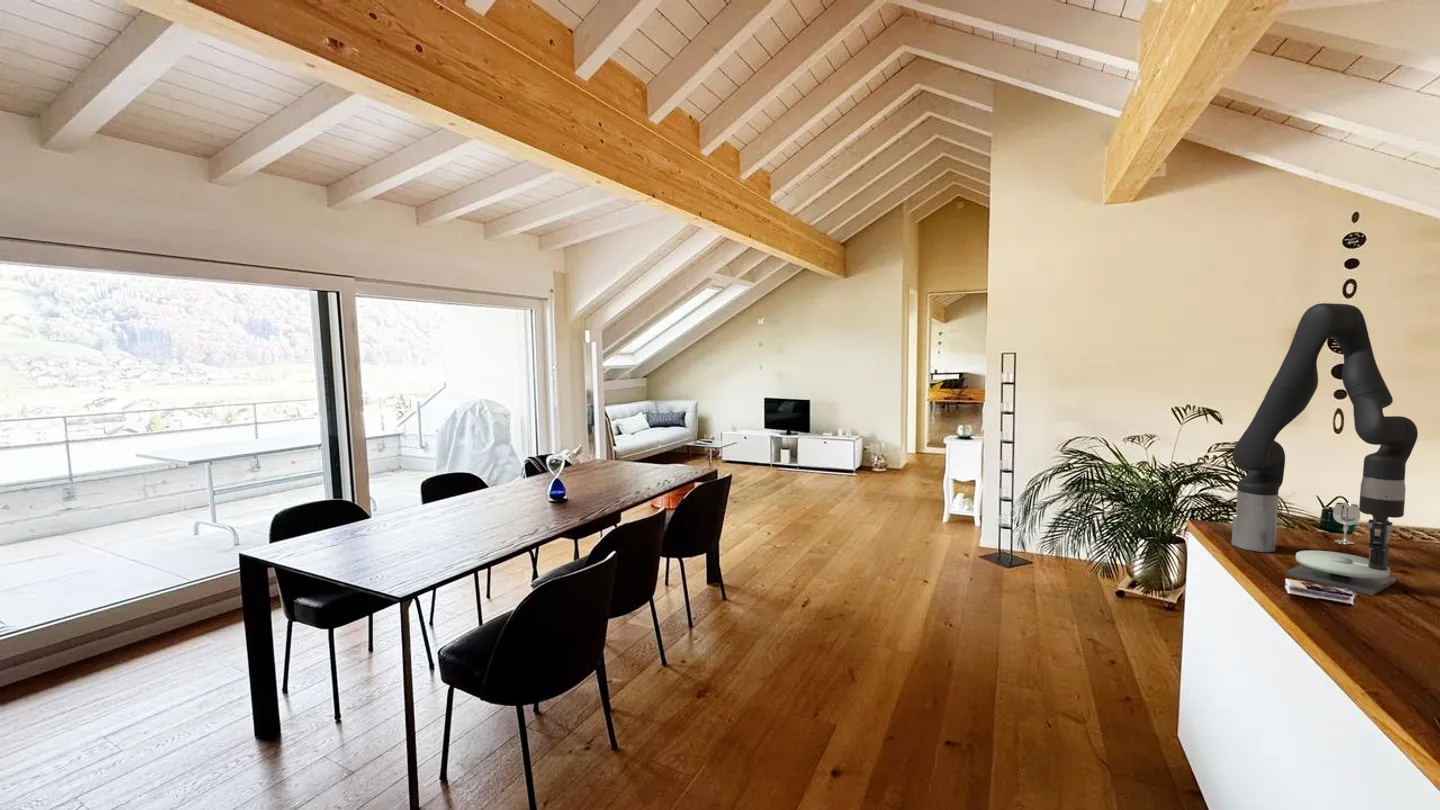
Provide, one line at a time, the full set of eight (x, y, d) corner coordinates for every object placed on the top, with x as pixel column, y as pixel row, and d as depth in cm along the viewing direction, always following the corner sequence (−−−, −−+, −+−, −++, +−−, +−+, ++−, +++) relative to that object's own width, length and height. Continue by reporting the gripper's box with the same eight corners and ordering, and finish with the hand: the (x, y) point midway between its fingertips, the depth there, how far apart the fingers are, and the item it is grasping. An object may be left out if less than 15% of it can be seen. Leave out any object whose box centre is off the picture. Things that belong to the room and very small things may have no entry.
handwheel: (1286, 563, 158) (1288, 534, 157) (1306, 551, 167) (1308, 523, 166) (1380, 583, 144) (1382, 551, 143) (1396, 568, 153) (1399, 538, 152)
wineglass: (1363, 545, 180) (1366, 507, 179) (1341, 545, 181) (1343, 506, 180) (1348, 540, 186) (1350, 502, 185) (1326, 539, 187) (1328, 501, 186)
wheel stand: (1287, 574, 159) (1287, 564, 159) (1311, 563, 166) (1311, 553, 166) (1373, 595, 145) (1373, 583, 145) (1395, 582, 152) (1396, 570, 152)
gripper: (1403, 503, 141) (1397, 573, 142) (1406, 493, 150) (1401, 560, 151) (1357, 497, 147) (1352, 565, 148) (1363, 489, 156) (1358, 553, 157)
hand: (1377, 562), depth 150 cm, fingers closed on handwheel, 3 cm apart
